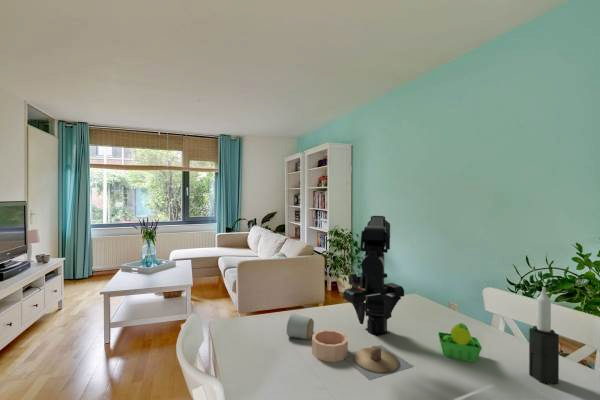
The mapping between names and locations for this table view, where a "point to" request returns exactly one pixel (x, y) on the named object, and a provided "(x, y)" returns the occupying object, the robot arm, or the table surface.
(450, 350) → the fruit basket
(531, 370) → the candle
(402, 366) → the mat
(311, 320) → the ceramic mug
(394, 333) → the table surface
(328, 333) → the bowl
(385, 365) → the lid
